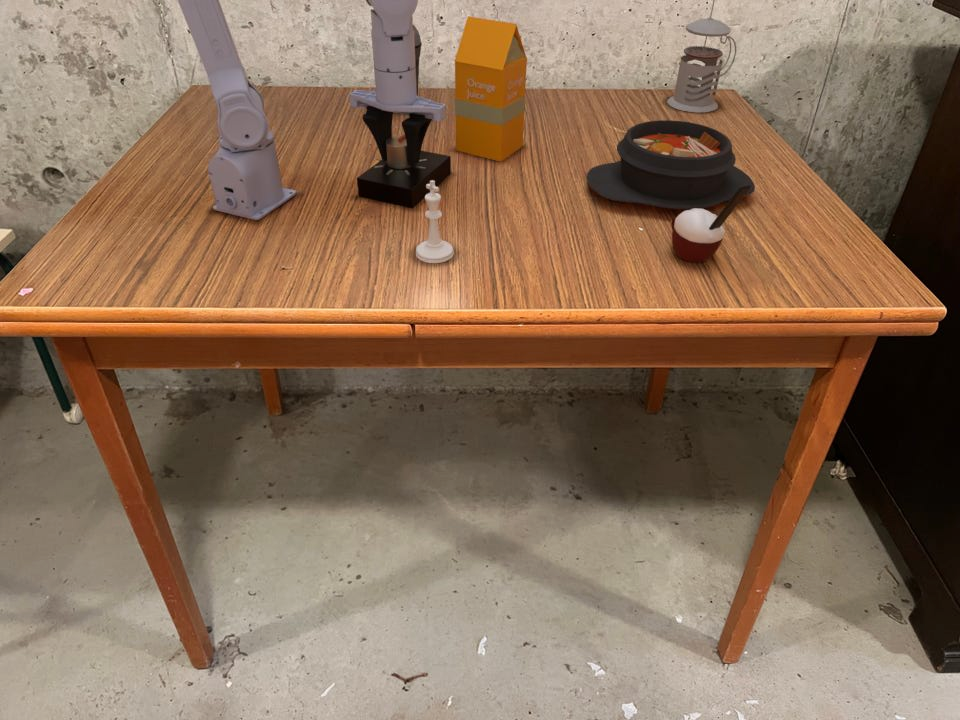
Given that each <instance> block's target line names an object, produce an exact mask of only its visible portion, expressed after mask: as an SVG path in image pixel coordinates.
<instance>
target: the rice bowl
mask: <svg viewBox="0 0 960 720" xmlns="http://www.w3.org/2000/svg"><path fill="white" fill-rule="evenodd" d="M750 187H751V186H750V185H745V186H741V187H739V189H738V190H737V191H736V193H735V194H734V195H733V197H732V198H731V199H730V200H728V202H727V203H726V205H725V206H724V207H723V208H722V210H721V211H720V212H719V214H718V215H717V214H714V213H712V212H711V211H709V210H708V209H707V210H706V209H704V208H694V209H684V211H682V212H681V213H679V214H678V215H677V216H676V217H673V218H672V220H671V224H670V225H671V246H672V249H673V252H674V253H675V254H676V256H678V257H679V258H680V259H682V260H683V261H686V262H690V263H702V262H706V261H708V260H710V259H711V258H713V256H714V255H715V254H716V252H717V251H718V250H719V248H720V247H721V244H722V242H723V239H724V237H725V236H726V233H727V231H726V230H725V228H724V226H723V224H724V223H725V221H726V220H727V219H728V217H729V216H730V215H731V213H733V211H734V210H735V209H736V208H737V207H738V205H739V203H740V202H741V201H742V200H743V198H744V197H745V194H746V193H747V192H748V190H749V189H750Z"/></svg>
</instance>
